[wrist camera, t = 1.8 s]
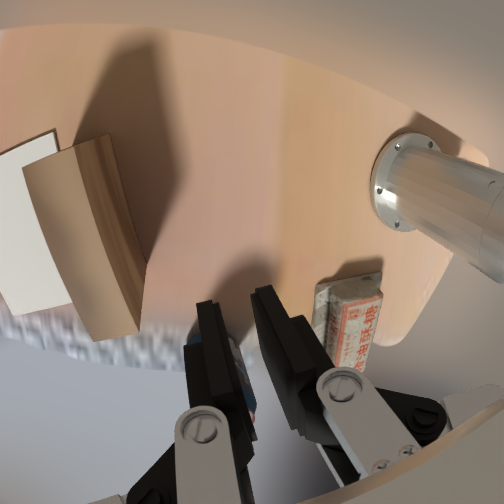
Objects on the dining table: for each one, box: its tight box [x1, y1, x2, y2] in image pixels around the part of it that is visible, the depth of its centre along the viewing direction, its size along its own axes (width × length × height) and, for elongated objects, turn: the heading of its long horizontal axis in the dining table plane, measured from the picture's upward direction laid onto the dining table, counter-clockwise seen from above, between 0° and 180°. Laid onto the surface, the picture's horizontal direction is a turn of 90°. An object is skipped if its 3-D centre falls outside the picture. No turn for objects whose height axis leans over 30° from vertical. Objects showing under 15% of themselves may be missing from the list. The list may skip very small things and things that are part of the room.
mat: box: [0, 132, 73, 316], centre depth 26 cm, size 14×18×1 cm
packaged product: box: [311, 272, 383, 373], centre depth 41 cm, size 18×5×10 cm
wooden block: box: [22, 134, 147, 342], centre depth 23 cm, size 4×14×11 cm, turn 10°
